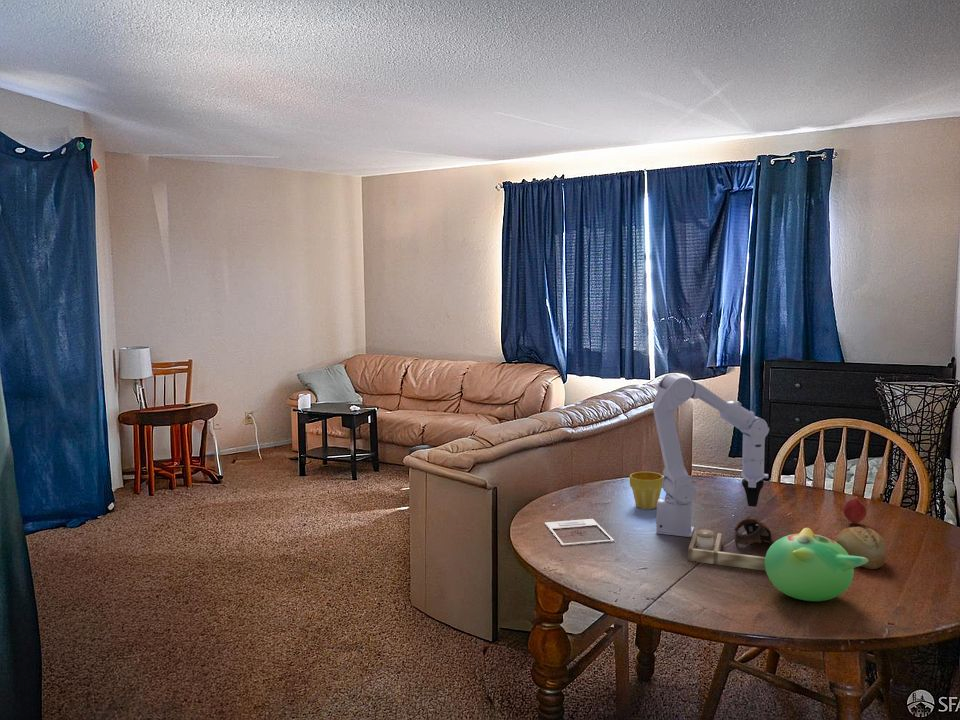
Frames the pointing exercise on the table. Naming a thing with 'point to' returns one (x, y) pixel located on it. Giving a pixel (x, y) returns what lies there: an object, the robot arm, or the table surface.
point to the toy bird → (810, 566)
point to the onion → (854, 510)
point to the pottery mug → (752, 532)
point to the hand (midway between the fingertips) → (752, 505)
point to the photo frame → (574, 524)
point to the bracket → (723, 556)
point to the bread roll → (864, 545)
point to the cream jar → (705, 539)
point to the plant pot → (646, 488)
